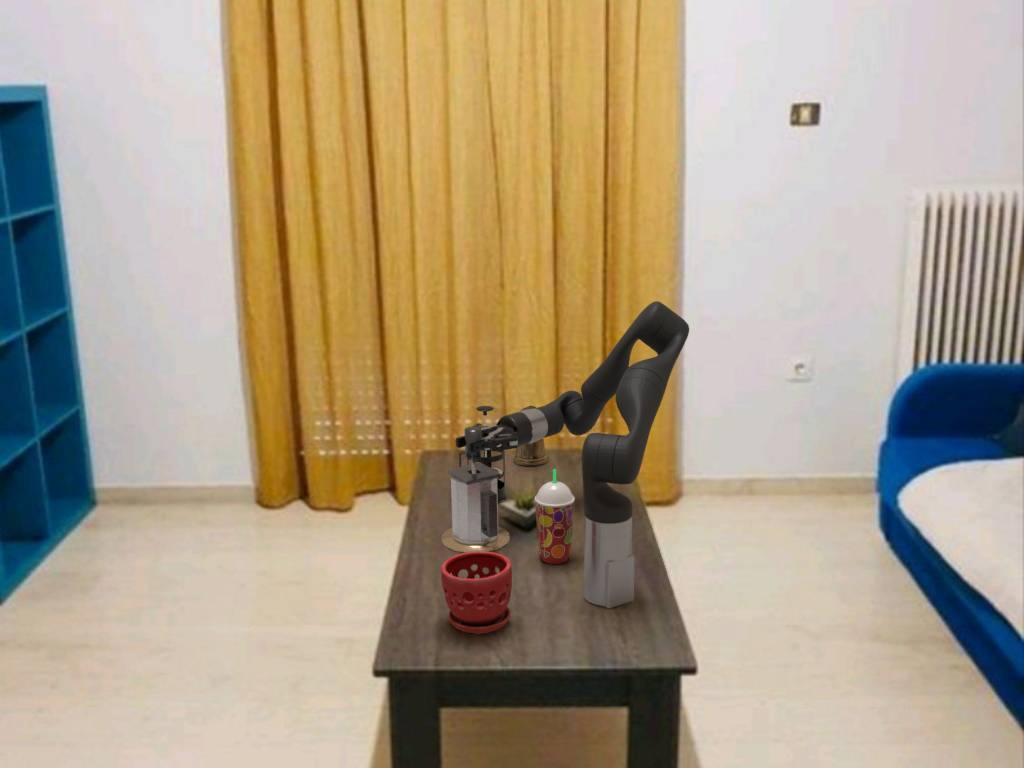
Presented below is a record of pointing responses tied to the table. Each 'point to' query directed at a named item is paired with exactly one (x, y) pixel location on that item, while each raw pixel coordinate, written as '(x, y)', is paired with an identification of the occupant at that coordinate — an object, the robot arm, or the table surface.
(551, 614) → the table surface
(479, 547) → the press carafe
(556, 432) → the robot arm
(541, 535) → the smoothie
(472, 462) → the plunger
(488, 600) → the plant pot
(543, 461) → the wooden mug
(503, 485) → the french press
